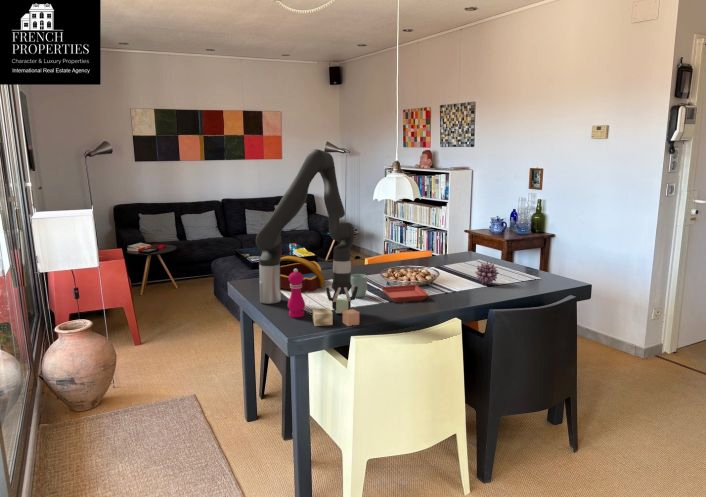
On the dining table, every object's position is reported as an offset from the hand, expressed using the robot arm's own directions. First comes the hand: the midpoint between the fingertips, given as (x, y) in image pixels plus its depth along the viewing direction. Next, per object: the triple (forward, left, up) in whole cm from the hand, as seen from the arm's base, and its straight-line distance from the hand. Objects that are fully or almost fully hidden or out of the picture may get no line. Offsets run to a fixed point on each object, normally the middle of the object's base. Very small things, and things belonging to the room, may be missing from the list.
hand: (341, 309), depth 226 cm
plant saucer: (+33, +19, -2) cm, 38 cm away
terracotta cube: (+1, -14, -2) cm, 14 cm away
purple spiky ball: (+81, +33, -2) cm, 88 cm away
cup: (+12, +23, -2) cm, 26 cm away
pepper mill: (-19, 0, -2) cm, 19 cm away
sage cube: (0, 0, -1) cm, 1 cm away
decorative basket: (-14, +52, -2) cm, 54 cm away
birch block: (-10, -11, -2) cm, 15 cm away
